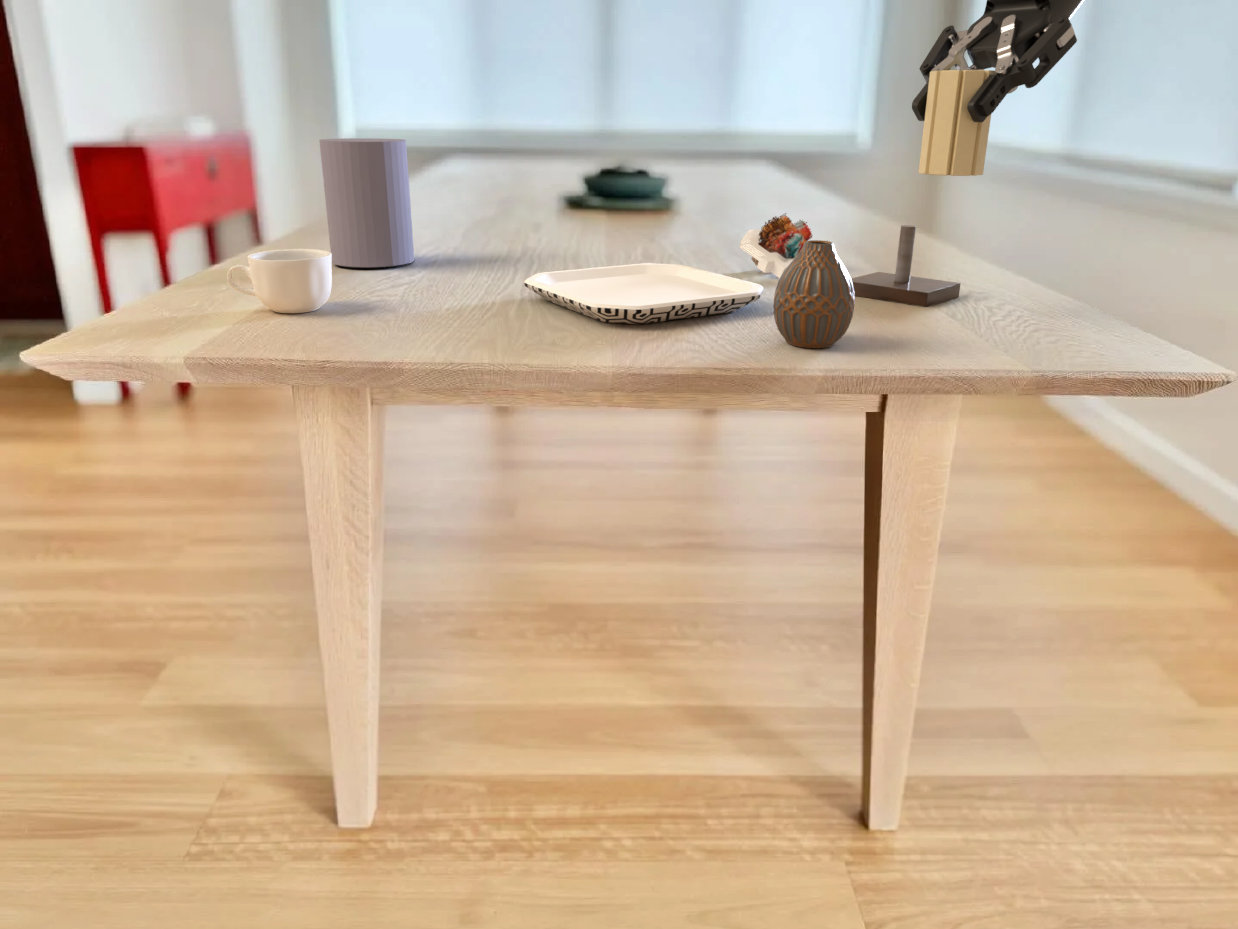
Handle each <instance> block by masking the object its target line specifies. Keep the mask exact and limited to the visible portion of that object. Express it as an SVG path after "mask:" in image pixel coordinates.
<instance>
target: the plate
mask: <svg viewBox="0 0 1238 929" xmlns="http://www.w3.org/2000/svg"><path fill="white" fill-rule="evenodd" d="M523 284H524V286H525V287H526V288H527V289H529V290H531V291H532V292H534V293H535V294H537V295H538V296H540V297H541V298H543V299H545V300H547V302H550V303H552V304H555V305H557V306H560V307H562V308H565V309H568V310H571V311H573V312H576V313H578V314H581V315H583V316H585V317H586V316H587V317H588V318H591V319H593V320H596V321H599V322H603V323H610V324H624V325H625V324H626V325H627V324H628V325H630V324H631V325H645V324H652V323H659V322H660V323H661V322H669V321H675V320H684V319H691V318H699V317H707V316H714V315H722V314H731V313H734V312H736V311H737V310H740V309H742V308H744V307H745V306H748V305H749V304H751V303H753V302H755V301H758V300H760V298H762V294H763V293H764V290H765V289H764V288H765V287H763V285H761V284H760V283H756V282H753V281H749V280H748V281H747V280H744V279H741V278H737V277H732V276H728V275H725V274H721V273H717V272H713V271H709V270H705V269H700V268H696V267H693V266H688V265H685V264H676V263H654V262H643V263H634V264H633V263H632V264H621V265H609V266H598V267H590V268H589V267H588V268H578V269H576V268H575V269H567V270H566V269H565V270H555V271H544V272H537V273H535V274H534V275H531V276H529V277H528V278H526V279H525V280H524V281H523Z"/></svg>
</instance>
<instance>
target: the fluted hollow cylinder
mask: <svg viewBox="0 0 1238 929" xmlns="http://www.w3.org/2000/svg"><path fill="white" fill-rule="evenodd" d="M989 75H996V72H995V70H994V69H993V70H992V69H991V70H990V69H984V70H956V69H950V70H942V71H931V72H930V77H929V86H928V94H927V103H926V112H925V120H924V121H923V130H922V140H921V147H920V156H919V166H918V174H920V175H928V176H952V177H954V176H955V177H971V176H974V177H975V176H983V175H984V170H985V164H986V163H985V162H986V155H987V150H988V149H987V148H988V141H989V135H990V134H989V133H990V126H991V120H992V114H990V115H989V116H988V117H987V118H986V119H985V120H984V121H983V122H974V121H973V120H972V118H971V116H970V114H969V112H968V110H967V105H968V103H969V101H970V100H971V99H972V97H973V96H974V95H975V93H976V92H977V91H978V89H979V88H980V87H981V86H982V84H983V83H984V82H985V80H986V79H987V78H988V77H989Z"/></svg>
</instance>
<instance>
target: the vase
mask: <svg viewBox="0 0 1238 929" xmlns="http://www.w3.org/2000/svg"><path fill="white" fill-rule="evenodd" d="M851 278H852V276H851V274H850V273H849V271H848V269H847V268H846V266H845V264H844V263H843V261H842V260H841V258H840V256H839V255H838V253H837V251H836V247H835V244H834V242H833V241H829V240H819V239H814V240H811V239H810V240H808V241H806V242H805V243H804V245H803V247H802V249H801V251H800V252H799V254H798V255H797V256H796V257H795V259H794V260H793V261H792V262H791V263H790V264H789V266H788V267H787V268H786V269H785V270H784V272H783V273H782V275H781V277H780V279H779V278H778V281H777V284H776V287H775V290H774V294H773V317H774V321H775V325H776V329H777V330H778V332H779V333H780V335H781V336H782V338H783V339H784V340H785V341H786V343H788V344H789V345H791V346H795V347H798V348H806V349H825V348H829V347H832V346H833V345H835V344H836V343H837V342H839V341H840V340H841V339H842V338H843V337H844V335H845V334H846V333H847V331H848V329H849V328H850V325H851V322H852V320H853V316H854V312H855V303H856V296H855V292H854V286H853V282H852V279H851Z"/></svg>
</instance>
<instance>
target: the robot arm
mask: <svg viewBox="0 0 1238 929" xmlns="http://www.w3.org/2000/svg"><path fill="white" fill-rule="evenodd" d="M1084 1H1085V0H986V3H985V7H984V8H985V9H984V11H983V14H982V15H981V17H980V18H978V19H977V20H976V21H975V22H973V23H972V24H971V25H969V27H968V29H966V30H960V31H957V30H956V27H955V26H954V25H952V24H951V25H948V26H946V27H945V28H944V29H942V31H941V32H940V34H939V36H938V37H937V39H936V40H935V42H934V44H933V45H932V47H931V49H930V51H929V52H928V54H927V55H926V57H925V58H924V60H923V61H922V63H921V65H920V67H919V71H920V73H921V75H922V77H923V80H925V85H924V86H923V87H922V88H921V90H920V91H919V92H918V94H917V95H916V96H915V97H914V99H913V100H912V103H911V109H912V112H913V113H914V116H915V118H916V119H917V120H918V121H919V122H924V120H925V112H926V103H927V94H928V86H929V77H930V72H931V71H942V70H951V69H952V68H953V67H955V70H988V69H991V68H993V69H994V71H995V72H996V75H989V77H988V78H987V79H986V80H985V82H984V83H983V84H982V86H981V87H980V88H979V89H978V91H977V92H976V93H975V95H974V96H973V97H972V99H971V100H970V101H969V103H968V105H967V110H968V112H969V114H970V116H971V118H972V120H973V121H974V122H983V121H984V120H985V119H986V118H987V117H988V116H989V115H990V114H991V115H992V114H993V113H994V112H995V111H996V109H997V108H998V107H999V105H1000V104H1001V103H1002V102H1003V100H1004V98H1006V97H1007V95H1008V94H1012V93H1013V92H1015V91H1016V90H1018V88H1019V87H1020V86H1025V88H1026V89H1031V88H1033V87H1035V86H1037V85H1038V84H1039V83H1040V82H1041V81H1042V80H1043V79H1044V78H1045V77H1046V75H1048V74H1049V72H1051V71H1052V69H1053V68H1054V67H1055V66H1056V65H1057V64H1058V63H1059V61H1060V60H1061V59H1062V58H1064V56H1065V55H1066V54H1067V53H1068V52H1069V51H1070V50H1071V49H1072V48H1073V46H1074V45H1076V43H1078V38H1077V36H1076V33H1075V30H1074V27H1073V24H1072V23H1071V18H1072V17H1073V16H1074V14H1075V13H1076V12H1077V10H1078V9H1079V8H1080V6H1081V5H1082V4H1083V2H1084ZM965 53H967V55H968V58H969V59H970V60H969V61H970V62H971V63H972V64H971V65H970V66H969V65H968V63H967V60H966V59H965ZM1037 60H1038V65H1036V66H1035V67H1034V65H1033V64H1034V63H1035V62H1036V61H1037Z"/></svg>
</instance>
